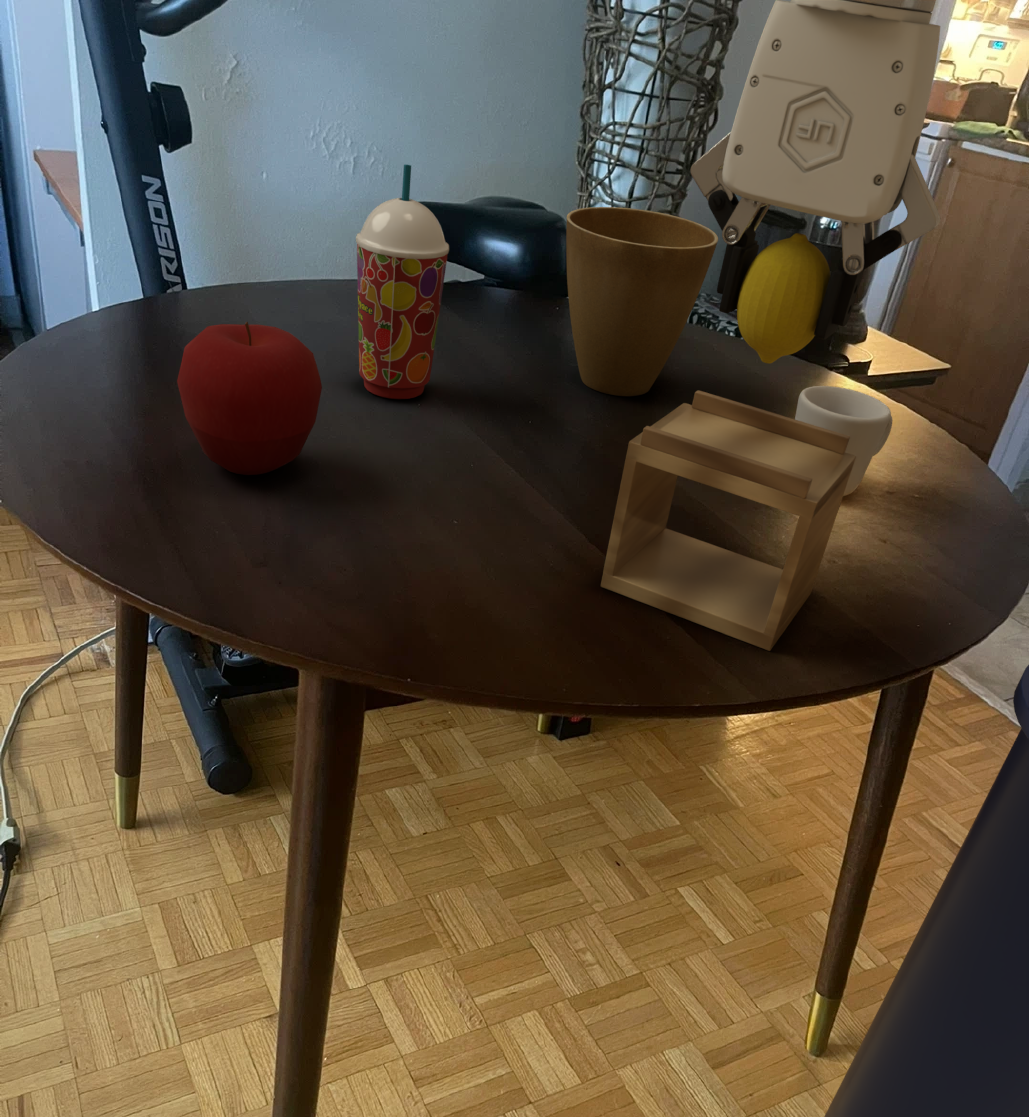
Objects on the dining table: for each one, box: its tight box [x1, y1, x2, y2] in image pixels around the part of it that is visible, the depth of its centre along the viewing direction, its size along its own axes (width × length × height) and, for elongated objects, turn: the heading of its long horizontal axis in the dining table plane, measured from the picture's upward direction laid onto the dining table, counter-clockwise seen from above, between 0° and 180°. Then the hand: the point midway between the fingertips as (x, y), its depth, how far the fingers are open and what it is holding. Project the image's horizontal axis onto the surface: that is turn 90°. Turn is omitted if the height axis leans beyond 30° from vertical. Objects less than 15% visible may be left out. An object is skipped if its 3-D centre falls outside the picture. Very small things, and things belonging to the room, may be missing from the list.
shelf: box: [600, 390, 856, 652], centre depth 75 cm, size 13×10×12 cm
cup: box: [794, 385, 894, 497], centre depth 96 cm, size 11×8×8 cm
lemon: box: [736, 232, 831, 364], centre depth 67 cm, size 6×6×8 cm
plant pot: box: [565, 206, 719, 397], centre depth 108 cm, size 15×15×16 cm
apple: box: [176, 321, 323, 476], centre depth 83 cm, size 11×11×12 cm
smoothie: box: [355, 163, 450, 400], centre depth 98 cm, size 8×8×20 cm
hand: (778, 318), depth 68 cm, fingers closed on lemon, 5 cm apart
